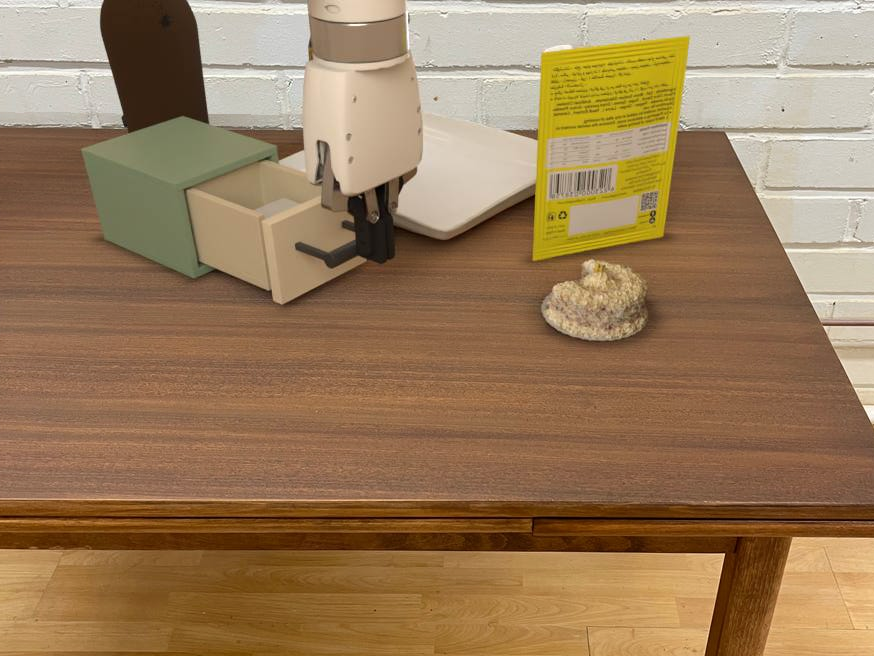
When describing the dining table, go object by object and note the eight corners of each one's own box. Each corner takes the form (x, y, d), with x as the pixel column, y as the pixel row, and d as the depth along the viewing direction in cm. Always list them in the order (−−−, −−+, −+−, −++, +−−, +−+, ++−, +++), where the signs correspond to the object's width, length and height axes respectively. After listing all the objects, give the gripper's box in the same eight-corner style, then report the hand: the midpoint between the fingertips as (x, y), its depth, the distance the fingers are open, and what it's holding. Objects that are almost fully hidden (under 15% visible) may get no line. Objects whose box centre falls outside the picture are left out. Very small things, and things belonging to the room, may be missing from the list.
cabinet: (288, 235, 101) (277, 145, 95) (194, 279, 93) (175, 183, 87) (199, 201, 108) (182, 115, 102) (104, 239, 100) (80, 148, 94)
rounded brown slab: (235, 150, 121) (200, -75, 105) (187, 180, 113) (142, -59, 97) (163, 140, 123) (119, -82, 108) (112, 168, 116) (56, -66, 100)
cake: (661, 307, 90) (673, 256, 87) (626, 358, 84) (637, 305, 80) (565, 277, 93) (572, 227, 90) (523, 324, 86) (529, 271, 83)
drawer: (406, 276, 92) (402, 198, 87) (322, 322, 85) (313, 240, 80) (273, 225, 101) (263, 152, 96) (187, 263, 94) (171, 187, 89)
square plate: (447, 264, 96) (447, 227, 94) (261, 198, 109) (256, 164, 107) (590, 182, 113) (593, 149, 111) (414, 133, 126) (412, 103, 123)
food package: (660, 235, 102) (687, 34, 89) (666, 239, 101) (693, 37, 88) (530, 259, 97) (538, 51, 85) (534, 263, 96) (544, 54, 84)
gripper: (388, 11, 80) (400, 219, 91) (253, 50, 71) (285, 276, 82) (458, 25, 76) (461, 239, 88) (325, 68, 67) (348, 301, 79)
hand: (376, 256), depth 85 cm, fingers closed
